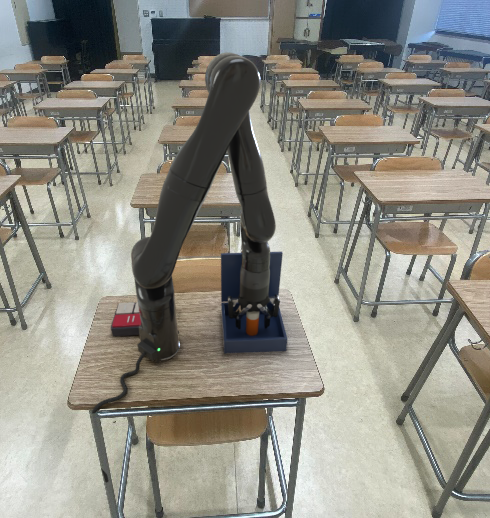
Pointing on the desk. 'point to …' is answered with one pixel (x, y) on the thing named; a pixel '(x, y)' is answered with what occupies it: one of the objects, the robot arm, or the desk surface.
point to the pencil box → (261, 342)
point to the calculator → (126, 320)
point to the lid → (232, 274)
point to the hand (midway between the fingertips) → (252, 326)
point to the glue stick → (252, 323)
